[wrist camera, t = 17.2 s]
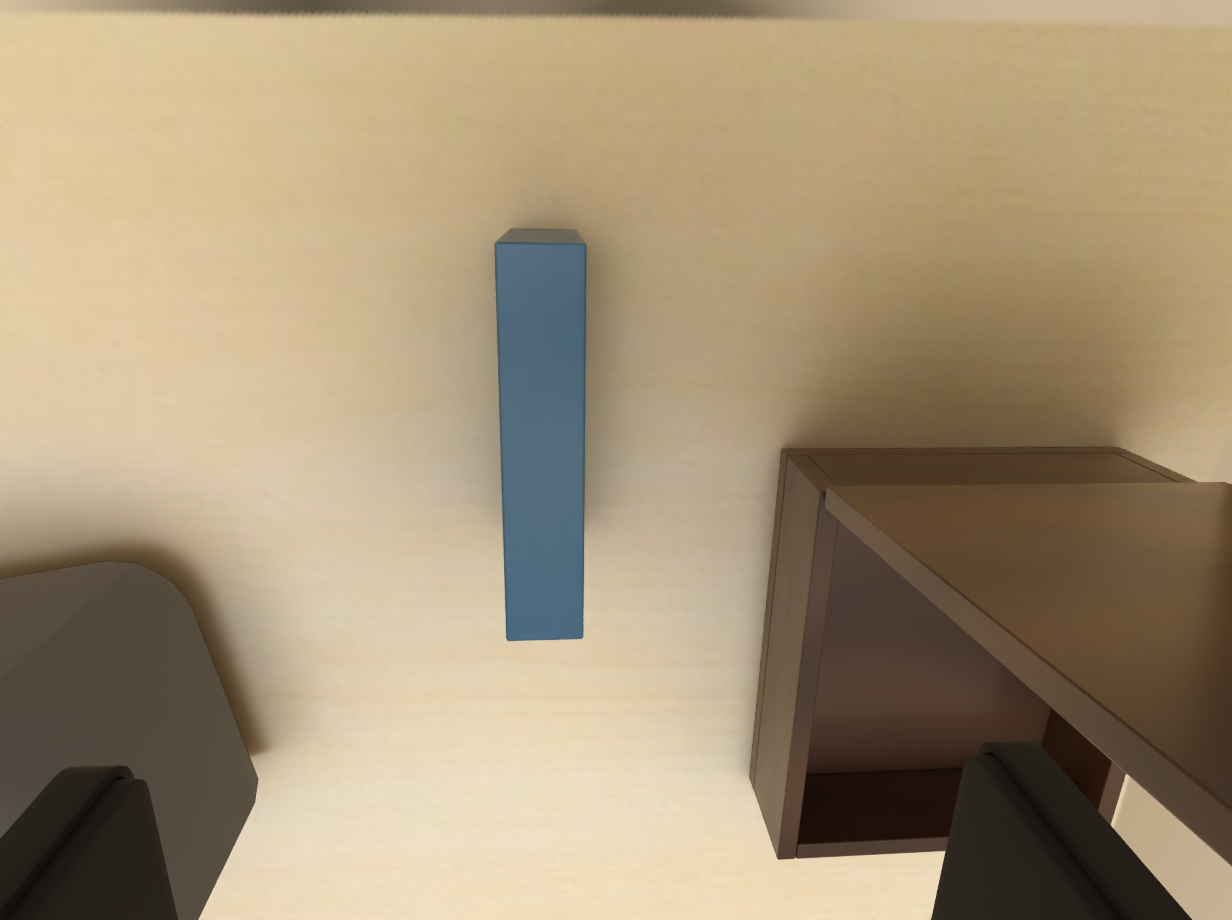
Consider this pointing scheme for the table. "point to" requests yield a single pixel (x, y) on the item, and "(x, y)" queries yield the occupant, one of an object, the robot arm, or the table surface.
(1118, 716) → the lid
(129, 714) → the alarm clock
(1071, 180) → the table surface
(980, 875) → the robot arm
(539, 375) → the blue hardcover book
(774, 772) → the box
